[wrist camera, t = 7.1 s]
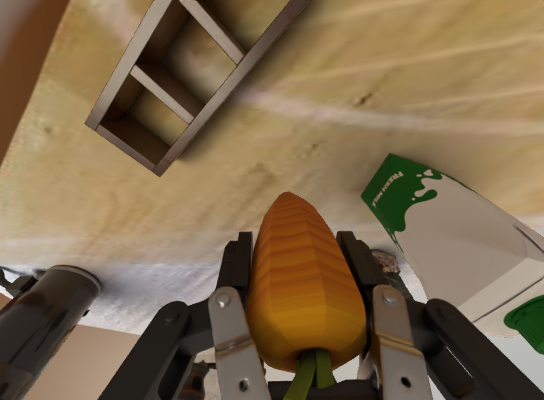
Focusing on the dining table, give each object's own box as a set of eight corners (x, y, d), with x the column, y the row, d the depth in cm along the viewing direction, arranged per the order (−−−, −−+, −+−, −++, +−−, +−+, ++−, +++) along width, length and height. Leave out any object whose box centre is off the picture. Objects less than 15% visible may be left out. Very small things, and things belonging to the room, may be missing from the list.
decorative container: (221, 353, 58) (204, 457, 43) (178, 342, 54) (144, 451, 39) (242, 334, 53) (232, 445, 38) (197, 320, 49) (165, 437, 34)
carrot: (309, 222, 19) (396, 548, 6) (252, 216, 18) (222, 556, 6) (325, 170, 16) (530, 551, 4) (259, 161, 16) (232, 567, 3)
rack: (114, 112, 25) (83, 123, 21) (244, -99, 17) (236, -150, 13) (175, 159, 28) (159, 177, 24) (309, 2, 20) (320, -13, 16)
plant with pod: (391, 232, 36) (500, 389, 19) (400, 273, 41) (491, 422, 24) (342, 248, 37) (402, 404, 21) (357, 285, 43) (415, 432, 26)
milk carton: (401, 215, 34) (534, 373, 17) (350, 199, 32) (441, 356, 15) (444, 165, 29) (682, 312, 12) (387, 143, 27) (573, 278, 11)
